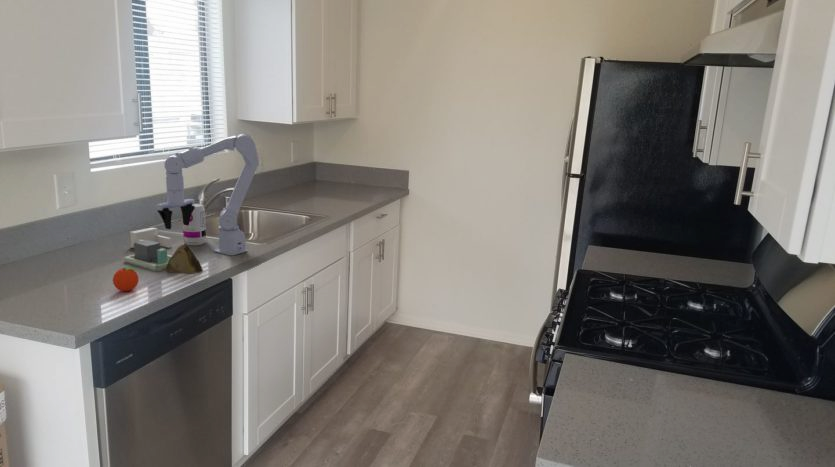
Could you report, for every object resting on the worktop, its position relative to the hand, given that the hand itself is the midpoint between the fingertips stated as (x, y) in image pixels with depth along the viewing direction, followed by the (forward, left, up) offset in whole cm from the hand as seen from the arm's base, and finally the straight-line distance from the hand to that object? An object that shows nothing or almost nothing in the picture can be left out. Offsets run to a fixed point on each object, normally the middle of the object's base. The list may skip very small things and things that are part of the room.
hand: (177, 226), depth 218 cm
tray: (-4, +13, -10) cm, 17 cm away
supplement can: (+7, -13, -10) cm, 18 cm away
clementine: (-22, +35, -10) cm, 43 cm away
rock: (-19, +13, -10) cm, 25 cm away
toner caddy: (-3, +13, -9) cm, 16 cm away
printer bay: (+14, +1, -10) cm, 17 cm away
